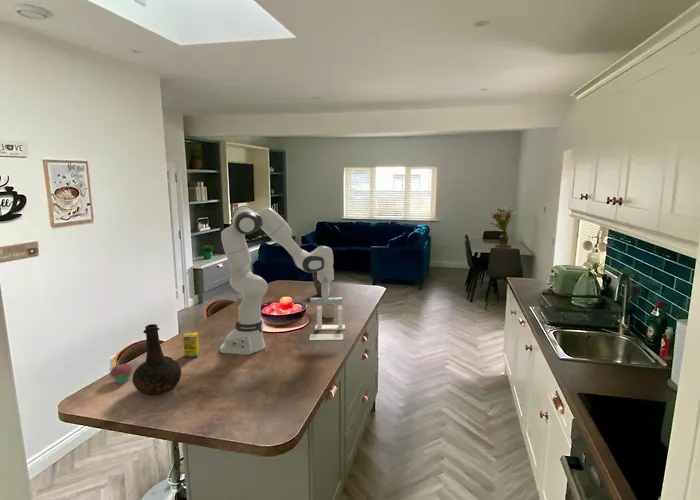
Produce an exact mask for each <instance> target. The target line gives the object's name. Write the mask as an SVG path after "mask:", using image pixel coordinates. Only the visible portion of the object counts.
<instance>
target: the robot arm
mask: <svg viewBox="0 0 700 500" xmlns="http://www.w3.org/2000/svg"><path fill="white" fill-rule="evenodd" d="M260 230H262V231H263V232H264V233H265V234H266V235H267V237H269V238H270V239H271V240H272V241H274V243H277V244H278V245H280V246H282V248H284V249H285V251H286V252H287V253H288V254H289V255H290V256H291V258H292V260H293V263H294V265H295V267H296V268H297V269H300V270H302V271H303V272H306V273H308V274H312V273H314V272H317V280H318V281H320V283H321V284H322V285H321V294H322V296H321V298H324V303H328V298H330V297H329V296H330V289H331V286H330V283H331V284H332V281H334V279H335V270H334V264H335V263H334V253H333V249H332V248H331V247H329V246H326V245H319V246H317V247H316V248H315V249H314V250H311V251H310V252H308V251H307V250H306V249H302V248H301V247H300V246H299V245H298V244H297V242H295V240H294V239H293V238H292V234H293V230H292V228H291V226H290V225H289V224H288V223H287V221H286V220H285V219H284V218H283V217H282V216H281V215H280V214H279V212H276V210H274V209H272V207H268V206H267V207H263V208H261V209H260V210H259V211H254V210H253V209H252V208H251V207H250V206H246V205H241V206H238V207H237V208H236V209H235V210H234V211H233V212H232V217H231V222H230V226H227V227H226V228H224V229H223V230H222V231H221V234H220V237H221V239H220V240H221V243H222V248H223V250H224V254H225V256H226V259H227V263H228V266H229V269H230V277H229V285H230V286H231V288H232V289H233V290H235V291H236V292H238V293H239V294H240V293H241V297H242V298H241V302H240V304H239V305H238V307H237V311H238V312H237V313H238V319H236V321H235V323H234V329H233V330H232V331H230V332H229V333H228V334H227V335H226V336H225V339H224V342H223V343H222V344H221V346H220V347H219V352H220V353H222V354H232V355H243V356H244V355H245V356H249V355H251V354H254V353H256V352H260V351H262V350H264V349H265V348H266V343H265V340H264V335H263V329H264V326H263V319H262V302H263V297H264V296H265V295H266V293H267V292H268V286H269V285H268V282H267V281H266V280H265V279H264V278H263V277H261V276H260V275H257V274H254V273H253V272H252V267H251V263H252V262H253V259H252V257H251V256H252V255H251V251H250V249H249V247H248V243H247V241H246V235H247V236H249V235H250V234H251V235H252V234H253V233H255V232H258V231H260Z"/></svg>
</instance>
